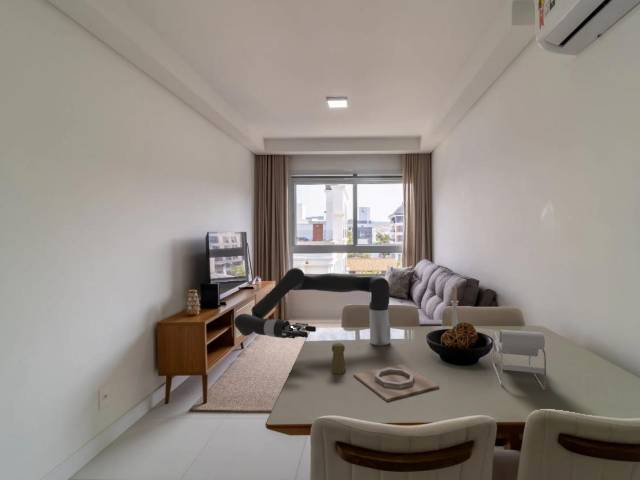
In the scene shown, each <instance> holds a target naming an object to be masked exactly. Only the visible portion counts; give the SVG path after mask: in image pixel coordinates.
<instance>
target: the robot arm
mask: <svg viewBox="0 0 640 480" xmlns="http://www.w3.org/2000/svg"><path fill="white" fill-rule="evenodd" d="M290 291H321V292H330V293H331V292H332V293H350V292H358V291H359V292H366V293H370V302H369V343H370V344H371V345H374V346H381V347H382V346H387V345H388V344H391V324H390V322H389V304H390V284H389V281H388V279H386V278H384V277H382V276H378V275H373V276H370V275H369V276H357V275H352V274H346V273H335V272H332V273H331V272H329V273H328V272H327V273H323V274H318V275H309V274H307V275H305V273H304V271H303V270H302V269H301V268H299V267H293V268H290V269H289V270H287V272H286V273H285V274H284V276H283V277H282V278H281V279H280V281H279V282H277V284H276V285H275V286H274V287H273V288H272V289H271V290H269V292H268V293H267V294H266V295H264V296H263V297H262V298H261V299H260V300H259V301H258V302H256V304H254V305H253V306H252V307H251V314H249V313H241V314H238V315H237V316H235V318H234V326H235V327H236V329H237V330H238V332H239V334H241V335H242V336H244V337H248V336H250V335H252V334H254V333H255V334H256V335H259V336H267V337H272V338H279V339H286V338H288V339H294V340H295V339H296V338H308V337H309V333H308V332H311V333H315V332H316V331H317V326H314V325H313V326H312V325H309V323H303V322H302V323H301V322H295V323H294V324H291V322H290V320H288V319H278V318H265V317H266V316H268V314H269V313H270V312H272V310H273V309H274V308H275V307H276V306H277V305H278V304H279V303H280V301H281V300H282V299H283V298H284V297H285V296H286V295H287V294H288V293H289V292H290Z"/></svg>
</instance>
